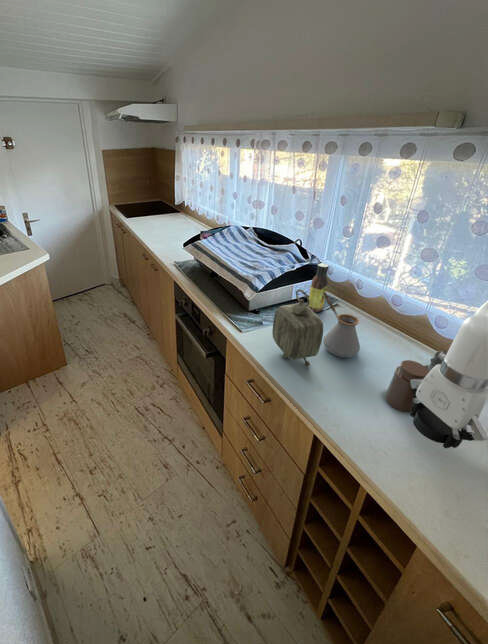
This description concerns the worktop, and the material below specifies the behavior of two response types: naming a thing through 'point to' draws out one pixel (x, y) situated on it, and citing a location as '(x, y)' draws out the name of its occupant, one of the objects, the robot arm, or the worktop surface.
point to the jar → (404, 385)
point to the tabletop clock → (297, 330)
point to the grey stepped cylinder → (435, 361)
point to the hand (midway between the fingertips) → (431, 429)
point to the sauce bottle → (318, 288)
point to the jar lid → (431, 425)
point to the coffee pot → (342, 335)
